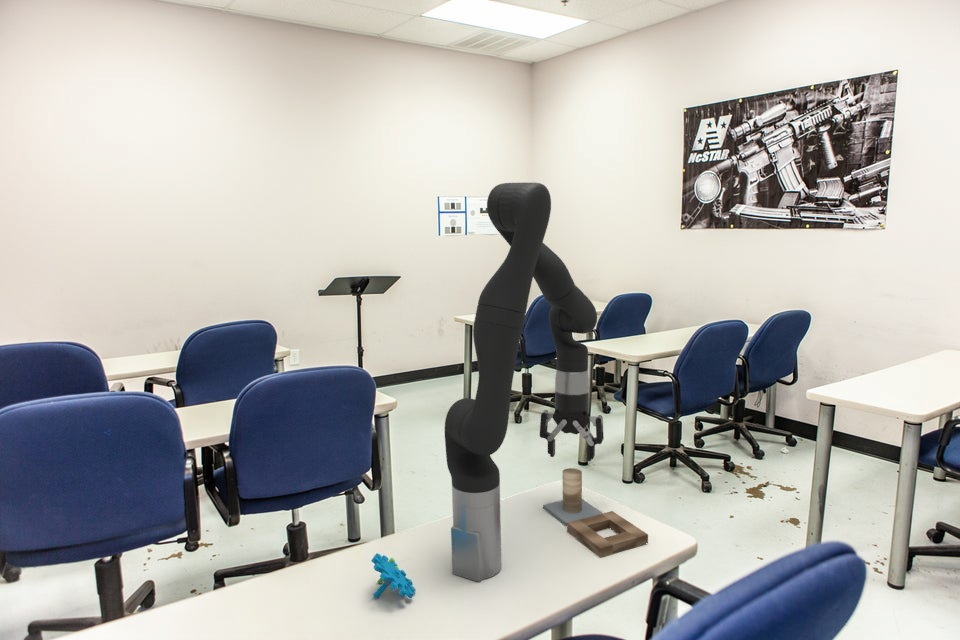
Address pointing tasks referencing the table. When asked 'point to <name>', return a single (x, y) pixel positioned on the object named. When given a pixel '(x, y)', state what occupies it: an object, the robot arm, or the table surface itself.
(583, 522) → the pocket block
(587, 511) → the mat
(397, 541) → the table surface
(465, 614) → the table surface
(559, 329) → the robot arm
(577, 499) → the peg
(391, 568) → the blue branched plastic piece
